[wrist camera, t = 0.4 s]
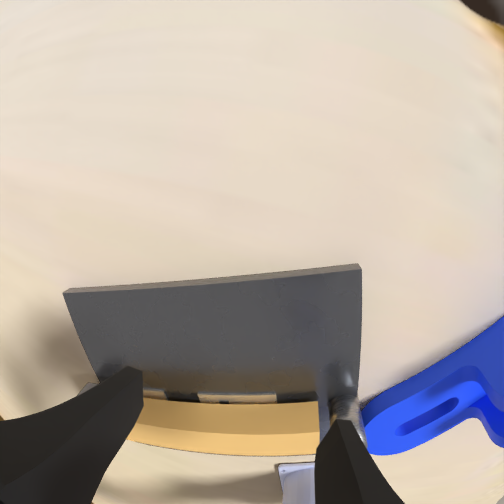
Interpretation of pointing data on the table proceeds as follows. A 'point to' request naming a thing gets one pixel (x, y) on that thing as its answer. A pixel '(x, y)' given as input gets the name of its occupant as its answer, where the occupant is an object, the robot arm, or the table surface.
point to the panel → (233, 338)
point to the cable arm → (228, 427)
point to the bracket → (442, 398)
